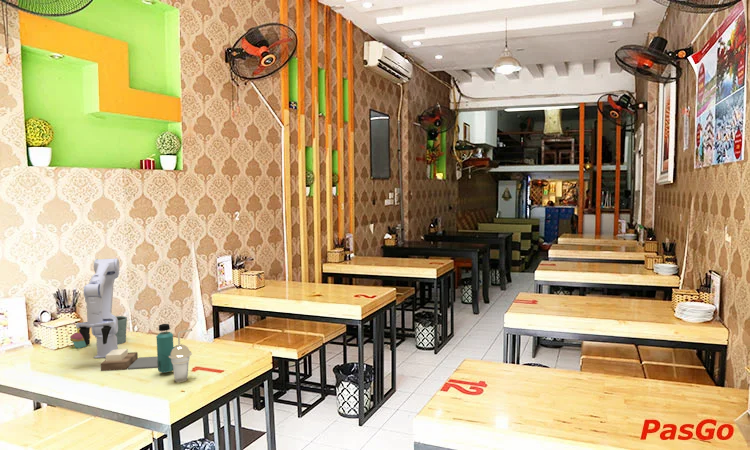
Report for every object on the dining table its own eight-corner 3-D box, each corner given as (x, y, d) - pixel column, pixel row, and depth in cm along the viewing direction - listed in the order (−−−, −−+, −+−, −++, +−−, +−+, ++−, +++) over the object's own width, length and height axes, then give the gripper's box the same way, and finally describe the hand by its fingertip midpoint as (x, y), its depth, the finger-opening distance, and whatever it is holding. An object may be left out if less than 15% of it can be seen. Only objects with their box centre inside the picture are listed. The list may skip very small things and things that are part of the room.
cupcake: (84, 349, 247) (83, 323, 246) (66, 349, 247) (65, 324, 246) (94, 343, 255) (93, 319, 254) (77, 344, 255) (75, 319, 254)
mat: (138, 358, 230) (138, 357, 230) (167, 357, 232) (167, 355, 231) (127, 369, 216) (127, 368, 216) (158, 367, 218) (158, 366, 218)
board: (113, 360, 229) (113, 353, 229) (137, 358, 230) (137, 352, 230) (100, 370, 215) (100, 363, 215) (126, 369, 216) (126, 362, 216)
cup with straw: (182, 374, 208) (180, 325, 207) (198, 378, 204) (196, 327, 202) (164, 381, 201) (162, 330, 200) (180, 385, 196) (178, 333, 195)
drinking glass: (108, 340, 260) (106, 316, 260) (130, 338, 263) (128, 315, 262) (102, 346, 250) (101, 321, 250) (125, 344, 253) (124, 319, 252)
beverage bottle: (178, 371, 212) (176, 322, 211) (167, 377, 206) (165, 327, 205) (165, 370, 215) (163, 321, 213) (153, 375, 208) (151, 325, 207)
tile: (113, 355, 226) (112, 349, 226) (127, 354, 227) (127, 348, 226) (106, 361, 218) (105, 355, 218) (121, 360, 219) (120, 354, 218)
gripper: (72, 315, 215) (73, 347, 216) (109, 313, 217) (110, 345, 218) (79, 311, 222) (81, 342, 223) (115, 309, 224) (117, 341, 225)
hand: (96, 344), depth 221 cm, fingers open, 6 cm apart
